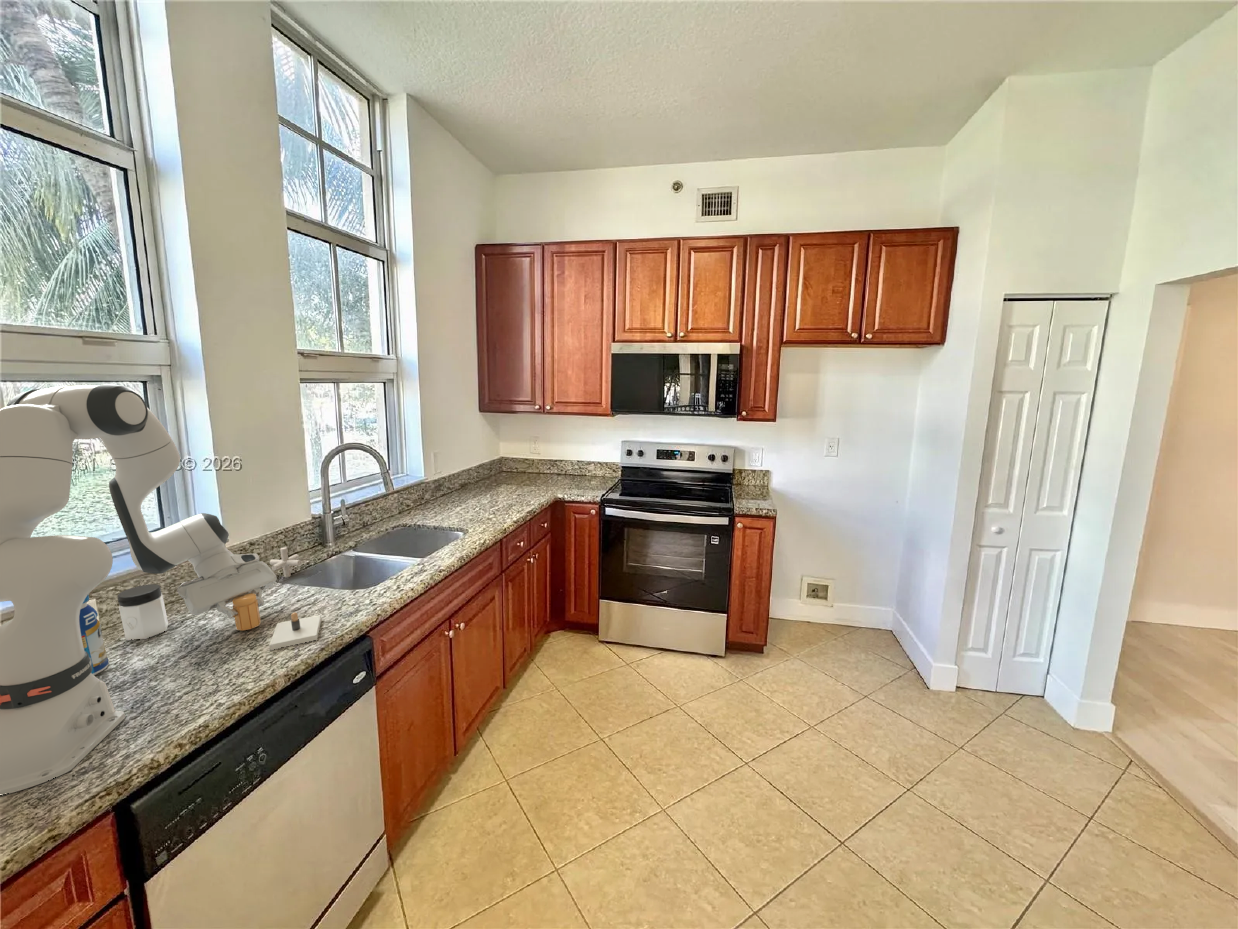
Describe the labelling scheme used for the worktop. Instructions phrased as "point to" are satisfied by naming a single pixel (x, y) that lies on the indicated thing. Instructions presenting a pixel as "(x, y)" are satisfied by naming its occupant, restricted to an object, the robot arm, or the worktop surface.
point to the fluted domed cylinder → (246, 612)
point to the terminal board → (295, 631)
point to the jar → (142, 611)
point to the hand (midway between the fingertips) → (247, 610)
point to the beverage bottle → (92, 637)
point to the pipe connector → (285, 562)
